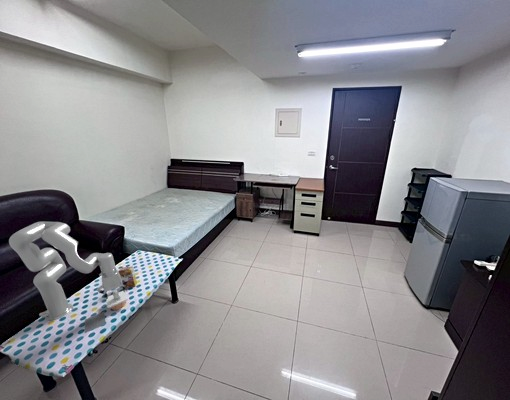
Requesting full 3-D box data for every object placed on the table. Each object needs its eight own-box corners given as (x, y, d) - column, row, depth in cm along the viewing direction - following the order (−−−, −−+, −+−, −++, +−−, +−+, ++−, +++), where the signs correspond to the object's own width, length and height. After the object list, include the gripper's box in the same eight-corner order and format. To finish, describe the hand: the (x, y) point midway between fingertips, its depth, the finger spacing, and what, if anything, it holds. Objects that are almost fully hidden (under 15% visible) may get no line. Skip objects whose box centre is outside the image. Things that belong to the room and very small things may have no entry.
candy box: (122, 288, 159) (117, 270, 154) (125, 284, 163) (120, 267, 158) (135, 286, 160) (131, 269, 155) (137, 283, 164) (133, 265, 160)
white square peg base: (107, 308, 135) (105, 300, 133) (106, 298, 143) (104, 291, 141) (127, 300, 141) (125, 292, 139) (125, 290, 149) (123, 283, 147)
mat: (85, 334, 123) (84, 333, 123) (85, 320, 133) (85, 319, 133) (105, 324, 129) (105, 323, 129) (104, 312, 138) (104, 311, 138)
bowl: (111, 312, 138) (110, 306, 136) (110, 304, 144) (108, 298, 143) (127, 305, 143) (125, 299, 141) (125, 298, 149) (123, 292, 148)
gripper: (92, 281, 128) (100, 304, 133) (125, 269, 138) (131, 291, 143) (92, 274, 134) (99, 297, 139) (124, 264, 143) (129, 285, 149)
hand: (115, 294), depth 141 cm, fingers open, 9 cm apart
